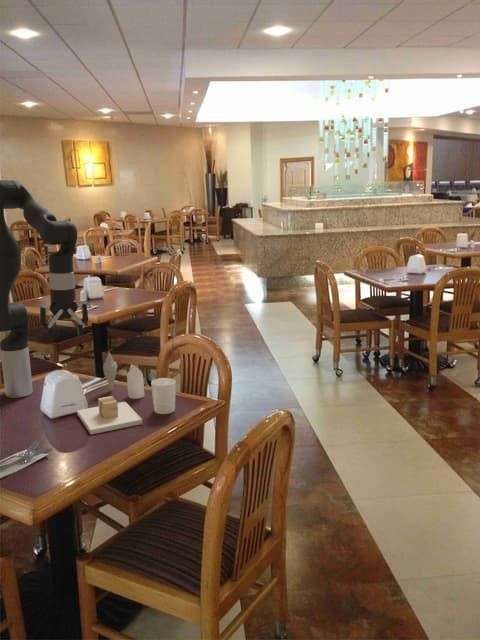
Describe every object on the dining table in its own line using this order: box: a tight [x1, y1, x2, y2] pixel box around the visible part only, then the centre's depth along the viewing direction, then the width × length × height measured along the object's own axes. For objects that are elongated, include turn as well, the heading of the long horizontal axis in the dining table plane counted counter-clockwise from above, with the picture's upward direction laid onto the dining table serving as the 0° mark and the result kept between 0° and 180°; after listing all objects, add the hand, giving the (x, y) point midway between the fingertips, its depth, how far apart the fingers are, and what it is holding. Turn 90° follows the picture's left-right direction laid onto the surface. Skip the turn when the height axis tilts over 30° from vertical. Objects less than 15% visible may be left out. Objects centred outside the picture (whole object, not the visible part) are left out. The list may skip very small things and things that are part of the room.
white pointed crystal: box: [126, 363, 145, 400], centre depth 200 cm, size 6×12×6 cm
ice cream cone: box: [102, 351, 118, 392], centre depth 206 cm, size 5×5×15 cm
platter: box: [76, 401, 143, 435], centre depth 181 cm, size 18×16×2 cm
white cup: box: [150, 377, 176, 415], centre depth 187 cm, size 8×8×10 cm
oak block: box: [97, 395, 119, 419], centre depth 180 cm, size 6×4×5 cm
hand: (65, 337), depth 179 cm, fingers open, 8 cm apart
